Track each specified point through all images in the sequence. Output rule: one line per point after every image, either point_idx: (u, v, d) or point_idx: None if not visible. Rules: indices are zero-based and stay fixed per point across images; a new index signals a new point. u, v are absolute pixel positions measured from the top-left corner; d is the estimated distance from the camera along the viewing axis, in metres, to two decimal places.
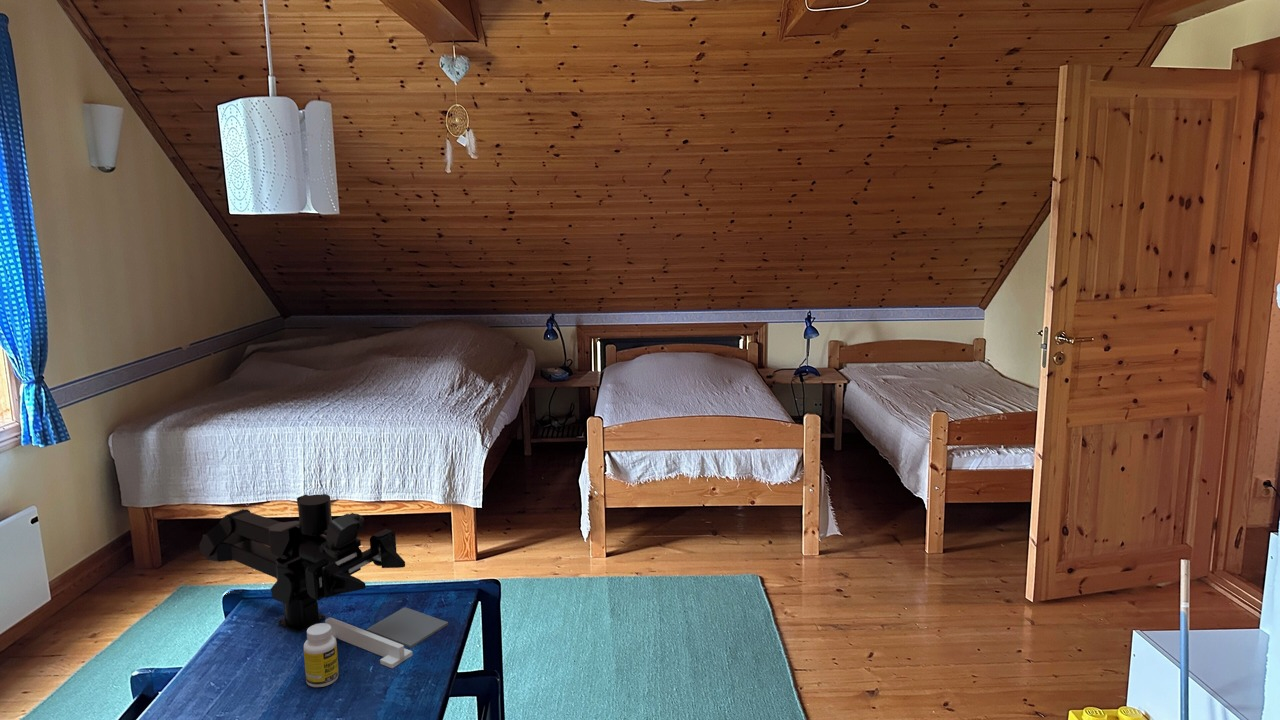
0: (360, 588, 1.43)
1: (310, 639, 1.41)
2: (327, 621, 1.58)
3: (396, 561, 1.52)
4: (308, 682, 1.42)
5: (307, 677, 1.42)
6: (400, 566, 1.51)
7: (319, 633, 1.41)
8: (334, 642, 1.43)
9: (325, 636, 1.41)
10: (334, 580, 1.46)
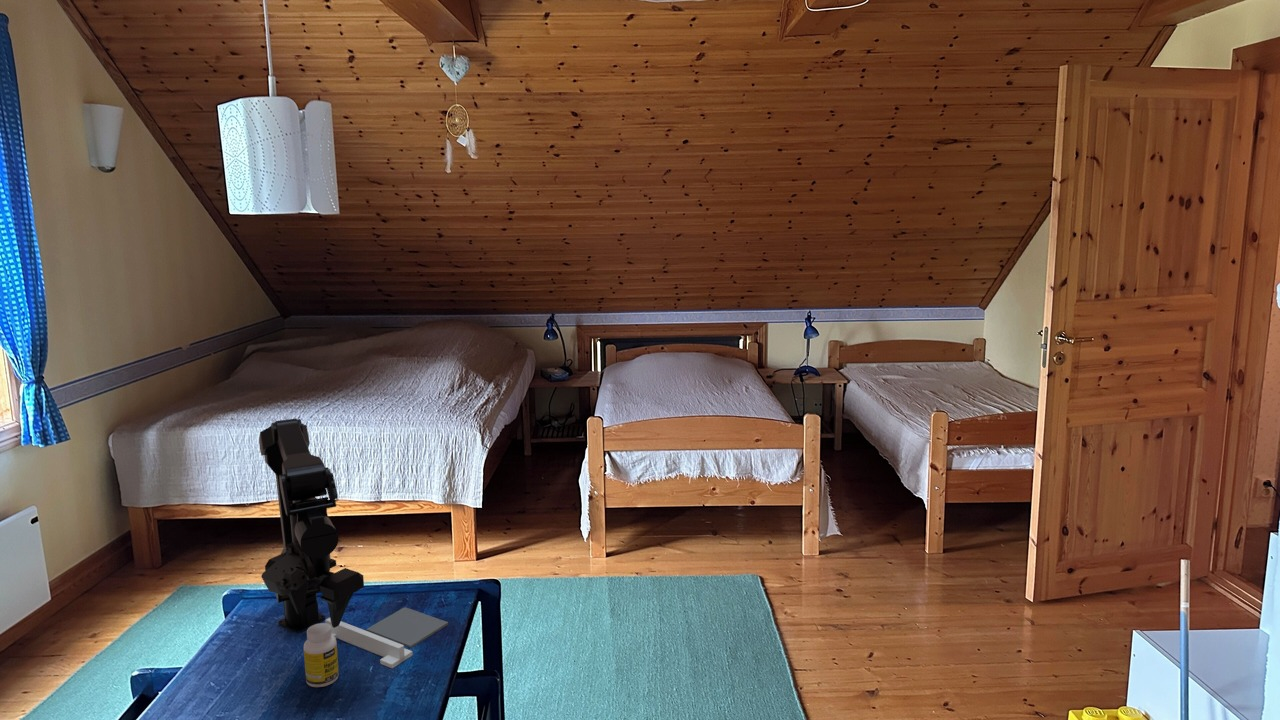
0: None
1: (310, 639, 1.41)
2: (327, 621, 1.58)
3: None
4: (308, 682, 1.42)
5: (307, 677, 1.42)
6: None
7: (319, 633, 1.41)
8: (334, 642, 1.43)
9: (325, 636, 1.41)
10: None
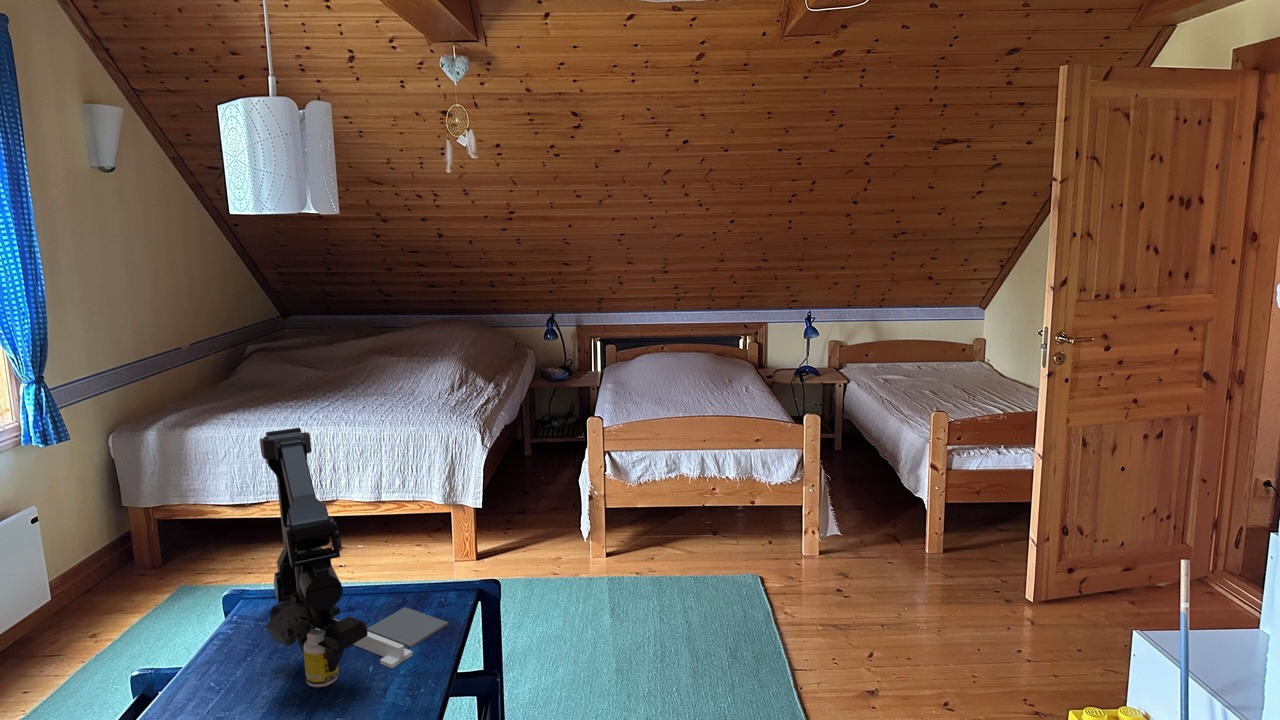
0: None
1: (310, 639, 1.41)
2: None
3: None
4: (308, 682, 1.42)
5: (307, 677, 1.42)
6: None
7: (319, 633, 1.41)
8: None
9: None
10: None
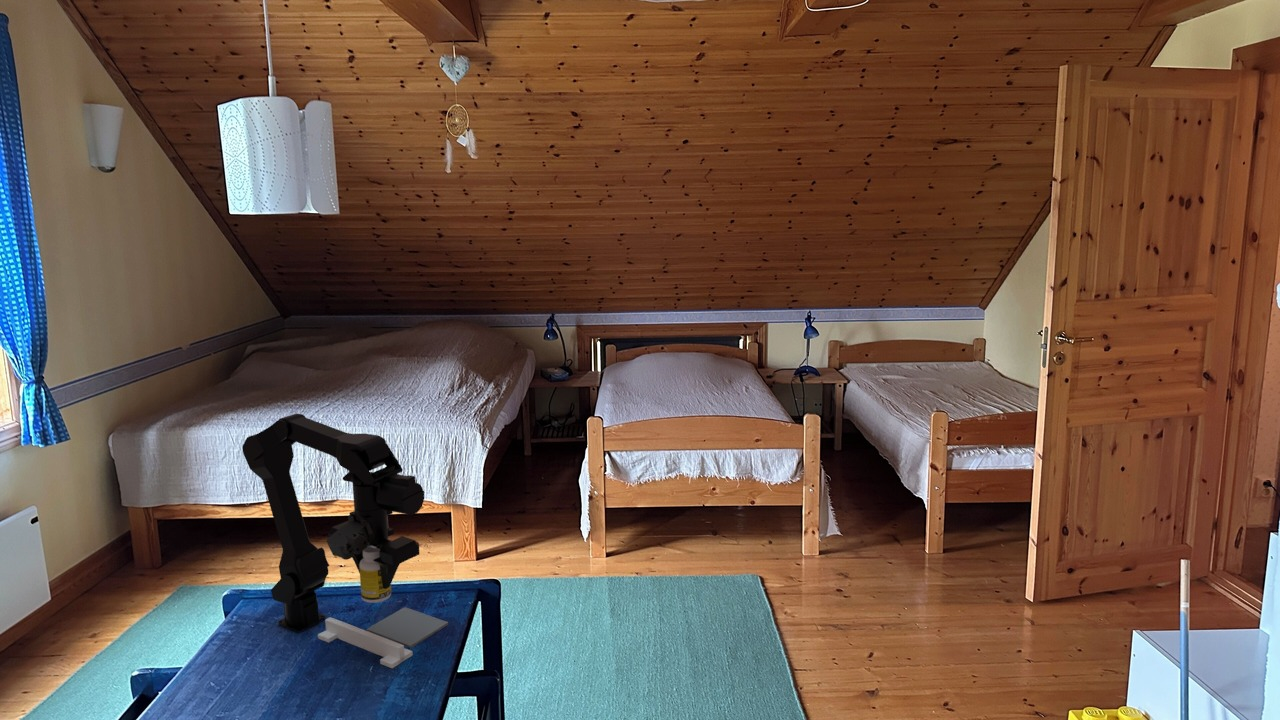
0: None
1: (366, 557, 1.50)
2: (327, 621, 1.58)
3: None
4: (363, 598, 1.51)
5: (362, 593, 1.51)
6: None
7: (374, 551, 1.50)
8: None
9: (379, 554, 1.50)
10: None
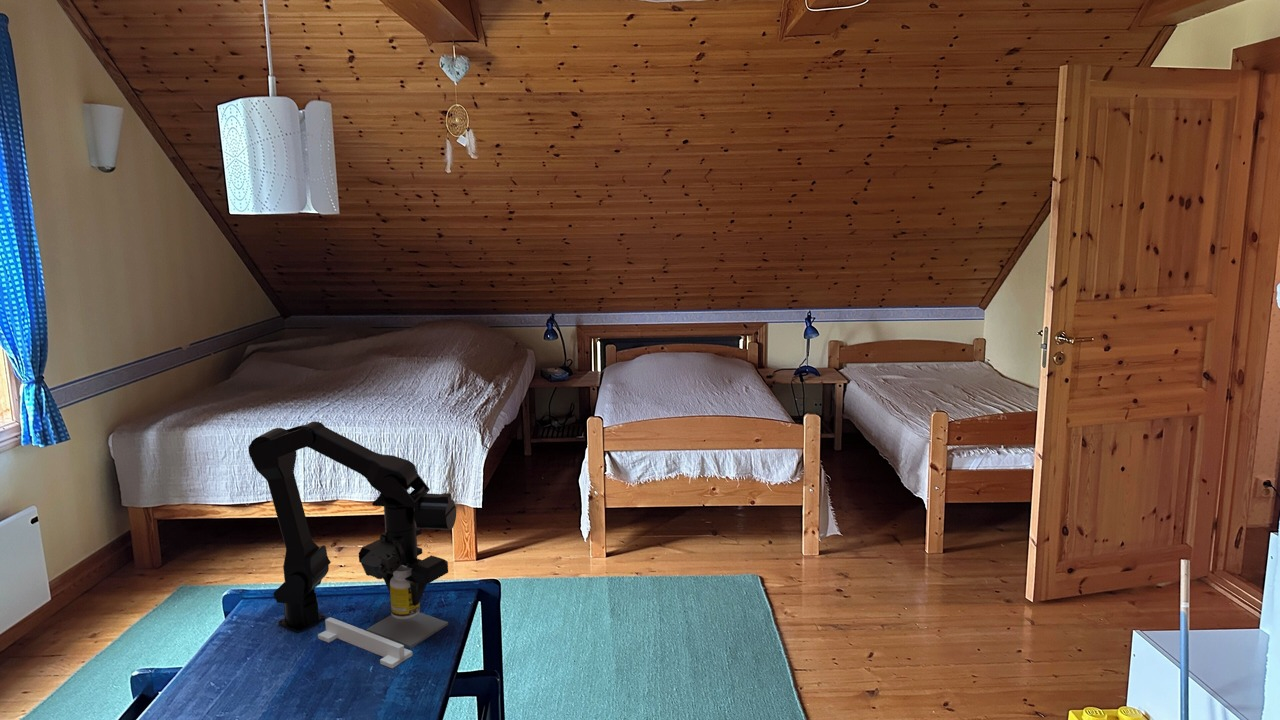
0: None
1: (396, 575, 1.57)
2: (327, 621, 1.58)
3: None
4: (394, 614, 1.58)
5: (393, 610, 1.58)
6: None
7: (404, 570, 1.57)
8: None
9: (409, 572, 1.57)
10: None
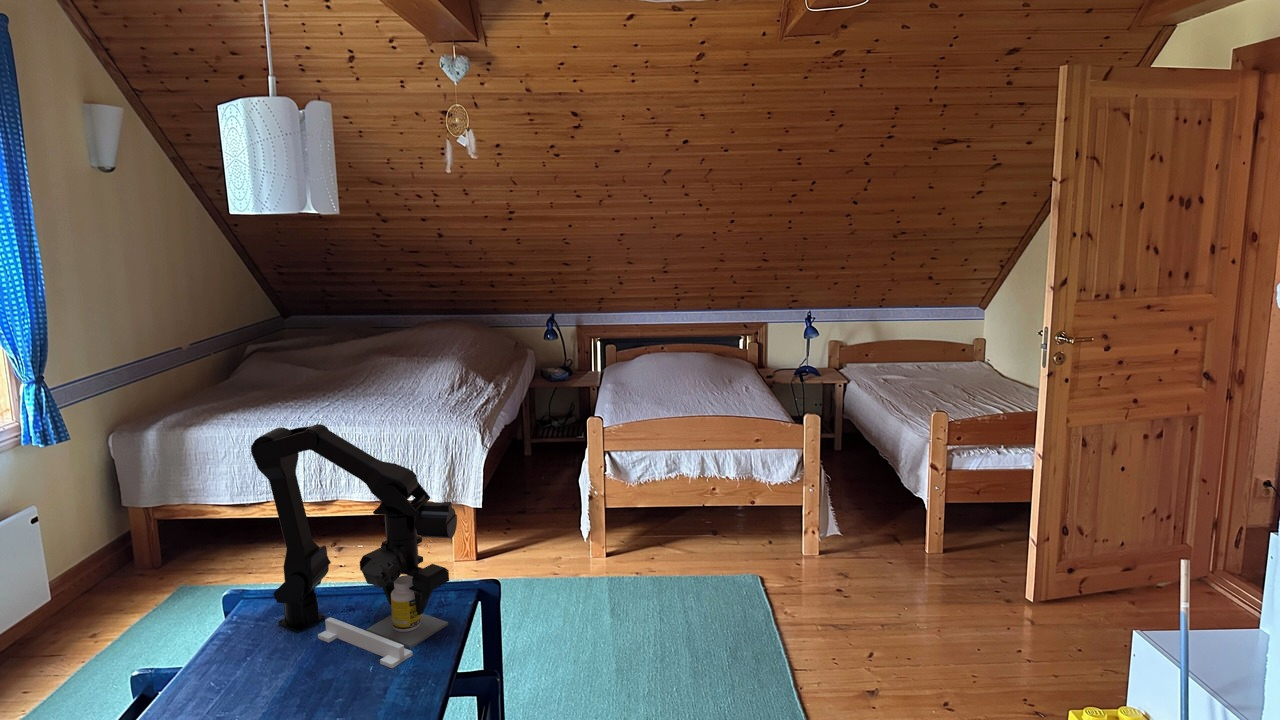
0: None
1: (397, 588, 1.57)
2: (327, 621, 1.58)
3: None
4: (395, 627, 1.59)
5: (394, 623, 1.59)
6: None
7: (405, 583, 1.57)
8: None
9: (410, 585, 1.58)
10: None
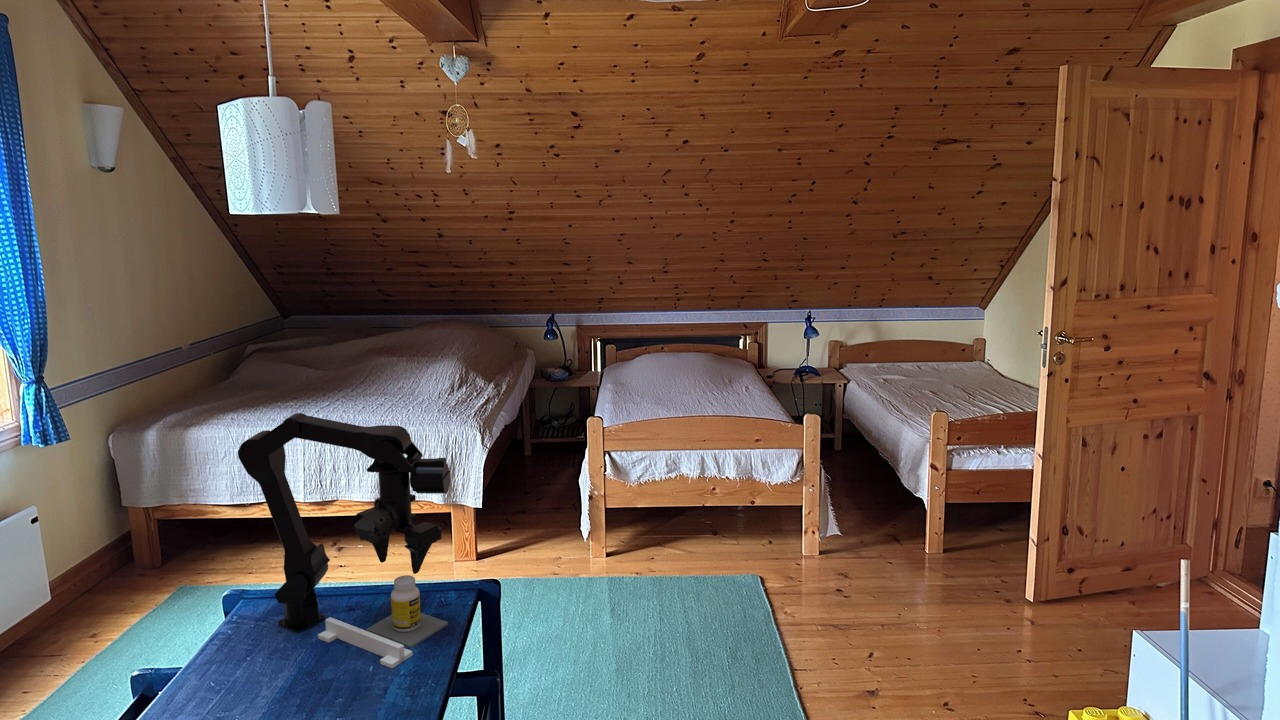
0: None
1: (397, 588, 1.57)
2: (327, 621, 1.58)
3: None
4: (395, 627, 1.59)
5: (394, 623, 1.59)
6: None
7: (405, 583, 1.57)
8: (418, 592, 1.59)
9: (410, 585, 1.58)
10: None
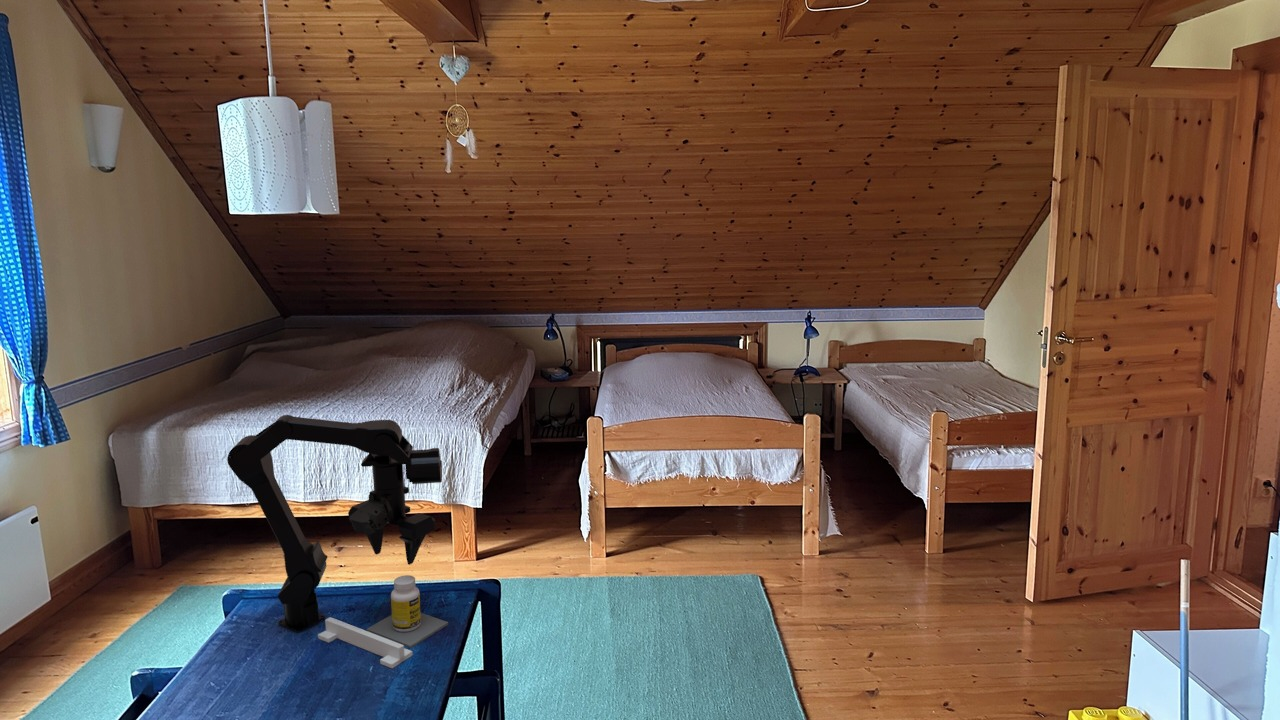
0: None
1: (397, 588, 1.57)
2: (327, 621, 1.58)
3: None
4: (395, 627, 1.59)
5: (394, 623, 1.59)
6: None
7: (405, 583, 1.57)
8: (418, 592, 1.59)
9: (410, 585, 1.58)
10: None
